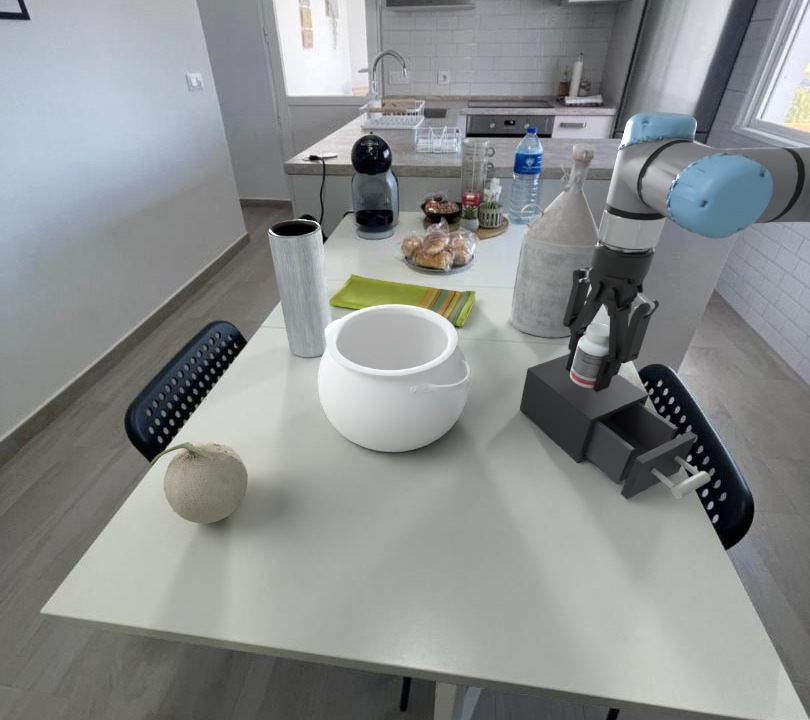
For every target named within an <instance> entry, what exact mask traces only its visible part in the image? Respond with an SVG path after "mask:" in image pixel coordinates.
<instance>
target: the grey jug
mask: <svg viewBox="0 0 810 720" xmlns="http://www.w3.org/2000/svg"><path fill="white" fill-rule="evenodd" d="M595 152H596V147H595V146H593V145H592V144H587V143H576V144H574V145H573V146H572V155H571V168H570V173H569V171H567V172H566V169H565V165H564V164H563V163H561V164H560V167H561V170H562V171H563V174H564V175H563V176H562V177H561V178H560V181H559V182H560V184H561V186H562V187H563V188H562V191H561V193H560V194H559V195H558V196H556V198H554V200H553V201H552V202H551V203H550V204H549V205H548V206H547V207H546V208H545V209H544V210H542V208H541V206H540V205H539V204H538V203H536V202H535V203H534V202H531V203H528V204H526V205H525V206H524V207H522V209H521V211H520V216H523V213H524V211H525V210H526V209H528V208H529V207H535V208H537V209H538V210H539V211H540V212H539V214H538V215H537V217H536V218H535V219H534V220H533V221H532V222H530V223H527V222H525V221H524V220H523V218H522V217H520V222H522V223H523V224H524V225H525V226H526V228H525V229H524V230H523V233H522V234H523V236H522V241H521V247H520V251H519V257H518V264H517V269H516V275H515V281H514V286H513V294H512V302H511V309H510V316H509V322H510V323H511V325H512V326H513V327H514V328H515V329H517V330H518V331H520V332H523V333H524V334H527V335H528V334H529V335H531V336H536V337H542V338H546V339H548V338H549V339H550V338H556V339H558V338H565V337H569V336H571V333H570V329H569V328H568V327H565V326H564V325H563V320H564V316H565V313H566V309H567V305H568V301H569V298H570V294H571V290H572V286H573V271H574V270H578V269H581V268H585V267H588V268H589V269H591V268H592V266H591V260H592V256H593V252H594V248H595V244H596V242H597V241H598V240H599V238H598V231H599V228H598V226H597V224H596V221H595V219H594V216H593V214H592V211H591V208H590V205H589V202H588V200H587V197H586V194H585V192H584V185H585V182H586V179H587V175H588V172H589V168H590V165H591V163H592V160H594V158H595V155H594V154H595ZM565 184H566V185H565ZM590 287H591V285H590V286H589V288H590ZM589 292H590V289H589V290H588V293H587V296H588V294H589ZM586 298H587V297H586ZM585 303H586V301H585ZM584 305H585V304H584Z"/></svg>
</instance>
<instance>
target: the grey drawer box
mask: <svg viewBox="0 0 810 720" xmlns="http://www.w3.org/2000/svg"><path fill="white" fill-rule="evenodd" d="M569 354H570V353H567V354H564V355H562V356H559V357H555V358H552V359H550V360H547V361H545V362H542V363H539V364H536V365H533V366H530V367H527V369H526V373H525V380H524V385H523V389H522V390H523V391H522V396H521V399H520V406H519V411H520V412H521V413H522V414H524V415H525V416H526V417H527V418H528V419H529V420H530V421H531V422H532V423H533V424H534V425H536V426H537V428H539V429H540V430H541V431H542V432H543V433H544V434H545V435H546V436H547V437H549V439H551V440H552V441H553V442H554V443H555V444H556V445H557V446H558V448H560V449H561V450H563V452H565V454H567V455H568V456H569V457H570V458H571V459H572V460H573V461H574V462H575V463H576V464H579V463H581V462H583V461H586V459H588V458H587V457H586V456H585V455H584V454H583V453H584V450H585V447H586V444H587V441H588V438H589V435H590V432H591V429H592V426H593V423H594V422H595V421H597V420H599V419H601V418H604V417H606V416H608V415H611V414H613V413H615V412H617V411H620V410H622V409H624V408H627V407H629V406H631V405H634V404H636V403H638V402H641V403H643V404H644V405H646V403H647V401H648V398H649V396H650V394H649V393H647V392H646V391H644V390H643V389H641V388H640V387H639V386H637V385H635V384H634V383H633V382H631V381H629V380H628V379H627V378H625V377H623V376H621V375H620V374H619V373H618V374H617V375H615V376H613V377H612V379H611V382H610V385H609V387H608V388H606V389H603V390H601V391H598V392H596V391H594V390H593V388H585V387H582V386H579V385H577V384H576V383H575V382H573V381H572V379H571V377H570V372H571V371H570V372H568V371H567V370H566V366H567V362H568V358H569Z"/></svg>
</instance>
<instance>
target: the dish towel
mask: <svg viewBox="0 0 810 720" xmlns="http://www.w3.org/2000/svg"><path fill="white" fill-rule="evenodd" d="M476 292H477V291H476V290H464V291H460V290H453V289H445V288H438V287H432V286H425V285H420V284H419V285H418V284H413V283H403V282H396V281H389V280H382V279H376V278H370V277H364V276H361V275H357V274H353V273H351V274H350V277H349V278H348V279H347V280H346V281H345V282H344V283H343V285H342V286H341V287H340V288H339V289H338V290H337V291H336V292H335V293H333V295H332V296H331V297H330V298H329V300H330V306H334V307H340V308H348V309H352V310H357V311H358V310H361V309H364V308H368V307H372V306H379V305H395V304H398V305H410V306H416V307H421V308H424V309H428V310H431V311H433V312H435V313H438V314H439V315H441V316H443V317H444V318H446V319H447V320H448V321H449V322H450V323H451V324H452V325H453V326H454V327H456V326H457V327H460V328H462V327H463V326H464V325H465V323H466V321H467V319H468V317H469V315H470V312H471V310H472V309H473V307H474V304H475V302H476Z"/></svg>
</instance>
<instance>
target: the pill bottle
mask: <svg viewBox="0 0 810 720" xmlns="http://www.w3.org/2000/svg"><path fill="white" fill-rule="evenodd" d="M609 330H610V325H608V324H606V323H603V322H602V323H601V322H594V323H592V322H591V324H590V325H588V327H587V330H586V332H585V333H586V334H585V333H584V334H585V335H584V336H582V337H581V338H580V339H579V342H578V345H577V349H576V353H575V357H574V361H573V364H572V368H571V372H570V377H571V379H572V381H573V382H575V383H576V384H577V385H579V386H582V387H585V388H594V385H595V381H596V378H597V375H598V372H599V368H600V365H601V362H602V358H603V356H606V355H609Z"/></svg>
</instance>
